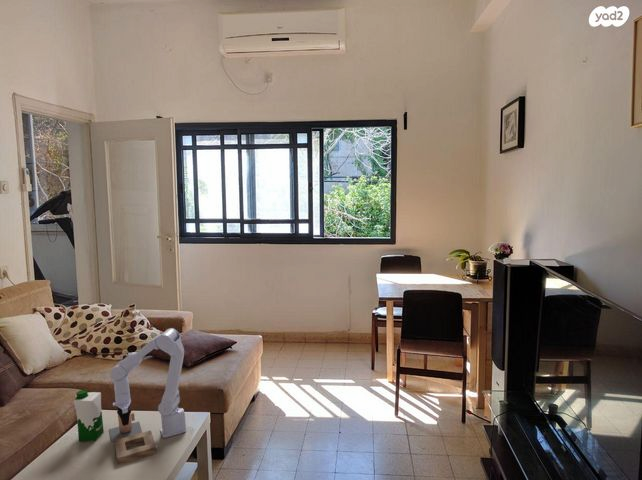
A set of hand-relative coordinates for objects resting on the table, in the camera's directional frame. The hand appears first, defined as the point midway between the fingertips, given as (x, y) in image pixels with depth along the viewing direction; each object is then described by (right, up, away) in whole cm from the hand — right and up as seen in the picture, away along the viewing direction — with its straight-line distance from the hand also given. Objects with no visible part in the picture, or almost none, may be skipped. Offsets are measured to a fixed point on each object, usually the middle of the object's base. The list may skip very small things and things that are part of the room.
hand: (125, 421), depth 192 cm
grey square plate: (0, -5, +1) cm, 5 cm away
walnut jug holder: (+10, -6, -12) cm, 17 cm away
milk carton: (-13, -6, -2) cm, 14 cm away
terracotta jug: (0, -3, 0) cm, 4 cm away
